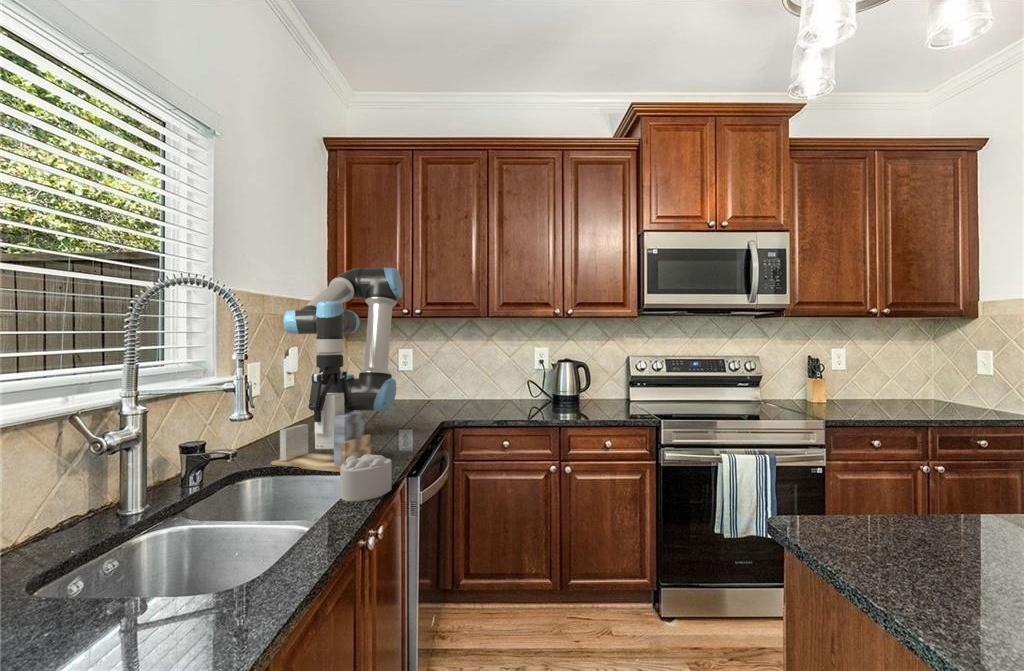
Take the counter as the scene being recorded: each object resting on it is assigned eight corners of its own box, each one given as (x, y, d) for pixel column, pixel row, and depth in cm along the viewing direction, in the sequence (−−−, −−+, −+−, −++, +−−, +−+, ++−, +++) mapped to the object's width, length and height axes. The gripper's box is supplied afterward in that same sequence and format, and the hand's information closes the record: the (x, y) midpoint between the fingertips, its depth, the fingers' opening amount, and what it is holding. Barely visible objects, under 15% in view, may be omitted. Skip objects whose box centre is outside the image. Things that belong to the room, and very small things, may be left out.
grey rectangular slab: (302, 453, 164) (302, 424, 164) (308, 453, 164) (308, 424, 164) (280, 460, 155) (280, 429, 155) (285, 461, 154) (285, 430, 154)
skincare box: (335, 449, 151) (334, 395, 151) (313, 449, 152) (312, 395, 151) (346, 443, 160) (345, 392, 159) (324, 443, 160) (323, 392, 160)
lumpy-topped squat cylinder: (397, 487, 132) (396, 453, 132) (367, 503, 120) (367, 465, 120) (361, 483, 136) (361, 450, 136) (328, 499, 123) (328, 462, 123)
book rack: (300, 456, 166) (300, 407, 166) (370, 461, 159) (370, 411, 159) (270, 466, 154) (270, 414, 154) (345, 472, 147) (345, 417, 147)
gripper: (340, 352, 167) (340, 423, 167) (294, 355, 146) (294, 436, 146) (361, 352, 165) (361, 424, 165) (317, 355, 144) (317, 437, 144)
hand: (329, 430), depth 155 cm, fingers closed on skincare box, 9 cm apart
